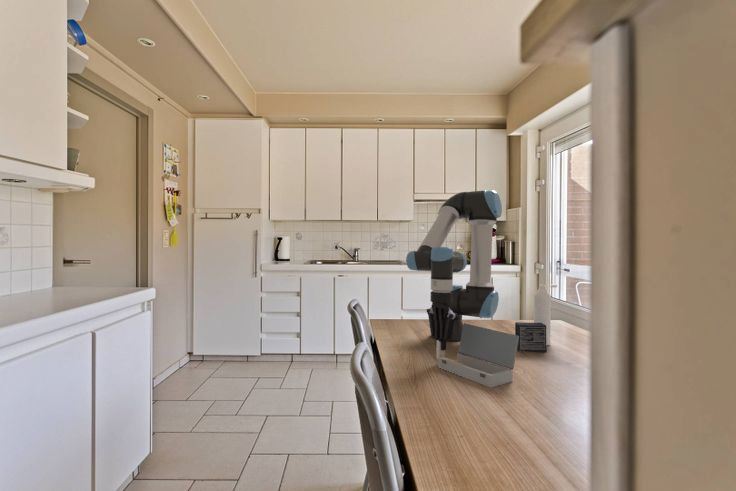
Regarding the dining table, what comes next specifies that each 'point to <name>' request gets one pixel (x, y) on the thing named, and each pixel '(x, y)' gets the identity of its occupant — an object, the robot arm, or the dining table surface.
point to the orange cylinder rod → (451, 360)
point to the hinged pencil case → (477, 370)
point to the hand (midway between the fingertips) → (440, 358)
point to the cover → (489, 345)
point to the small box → (531, 336)
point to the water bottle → (543, 309)
